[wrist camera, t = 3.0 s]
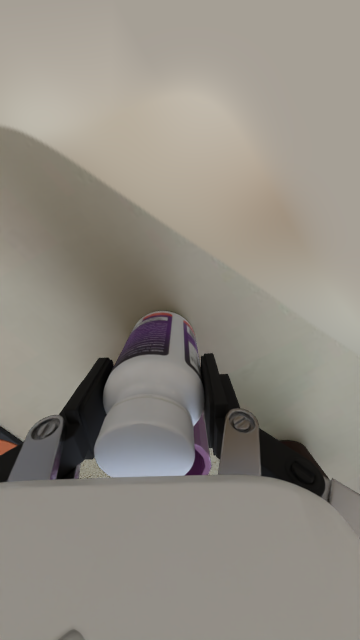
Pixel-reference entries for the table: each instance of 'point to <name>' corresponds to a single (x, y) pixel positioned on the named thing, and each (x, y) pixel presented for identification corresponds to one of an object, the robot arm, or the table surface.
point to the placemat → (7, 441)
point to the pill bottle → (152, 401)
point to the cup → (200, 449)
